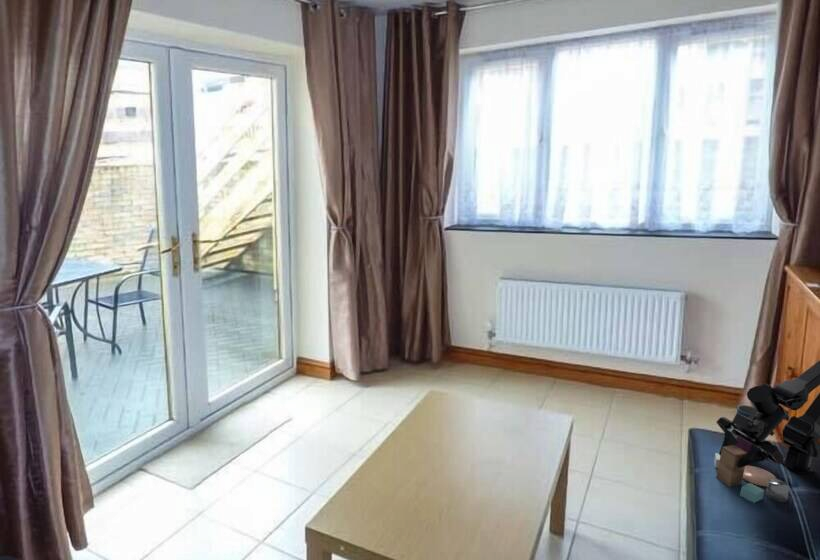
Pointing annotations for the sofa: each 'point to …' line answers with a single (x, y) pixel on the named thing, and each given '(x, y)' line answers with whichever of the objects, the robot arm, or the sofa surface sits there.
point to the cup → (742, 443)
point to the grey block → (716, 460)
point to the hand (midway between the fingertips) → (728, 461)
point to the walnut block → (731, 465)
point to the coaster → (757, 476)
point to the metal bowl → (777, 490)
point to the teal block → (752, 492)
